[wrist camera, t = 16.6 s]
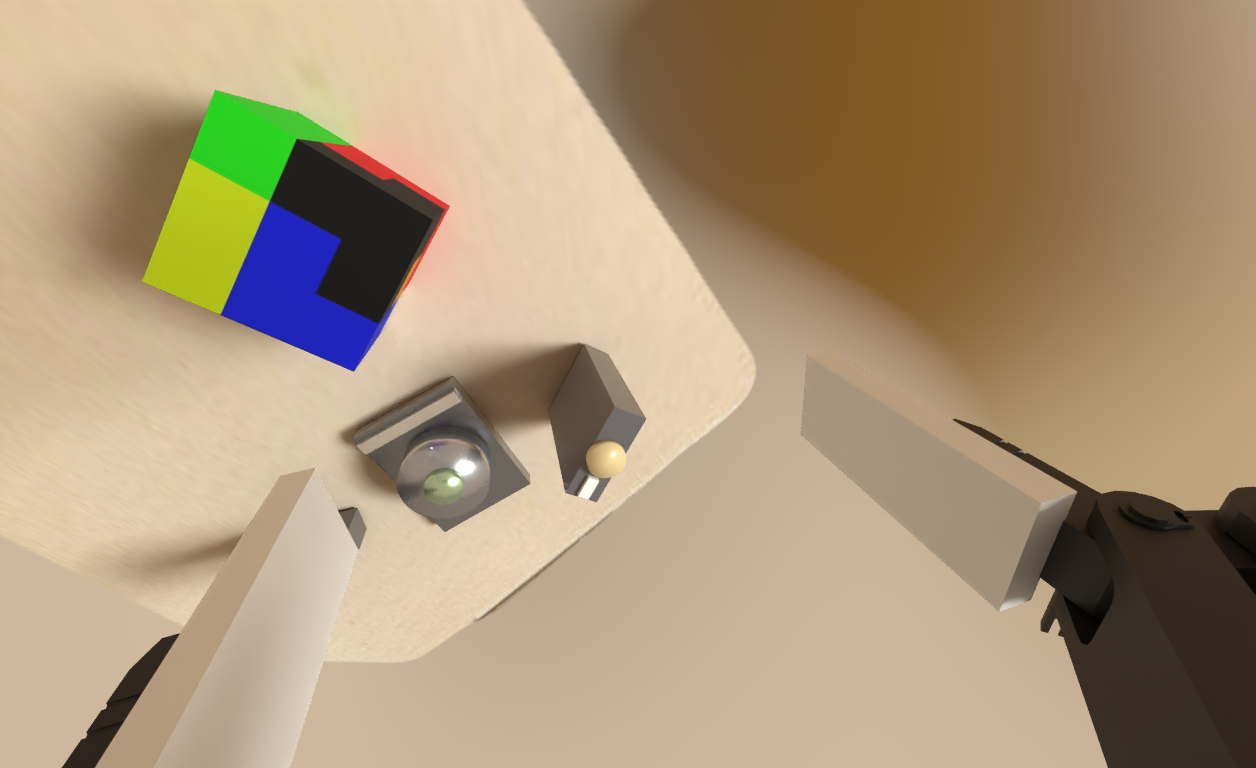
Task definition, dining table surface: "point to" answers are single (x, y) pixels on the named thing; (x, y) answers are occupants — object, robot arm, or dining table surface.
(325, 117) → the dining table surface
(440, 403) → the levelling plate
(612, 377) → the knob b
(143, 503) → the dining table surface
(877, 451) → the robot arm
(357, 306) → the puzzle toy
